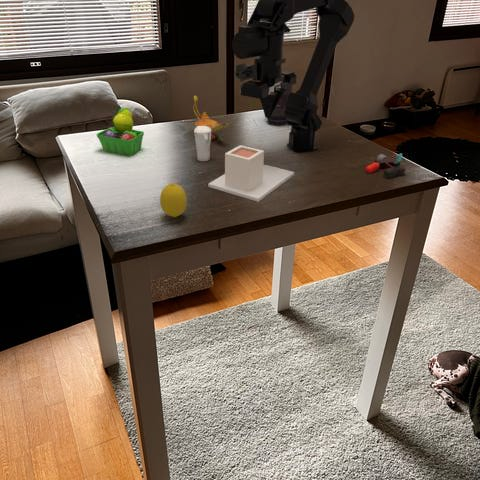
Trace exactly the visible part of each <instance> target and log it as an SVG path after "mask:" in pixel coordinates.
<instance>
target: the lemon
mask: <svg viewBox="0 0 480 480" xmlns="http://www.w3.org/2000/svg"><path fill="white" fill-rule="evenodd" d="M159 201H160V207H161V209H162V211H163V212H164V213H165V215H167V216H168V217H169V216H170V217H172V218H173V219H175V218H177V217H178V216H180V215H182V214H184V212H185V211H186V208H187V205H188V203H187V202H188V199H187V194H186V191H185V190H184V188H183V187H182V186H181V185H179V184H177V183H175V182H171V183H169V184H167V185H165V187H163V189H161V193H160V198H159Z"/></svg>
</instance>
